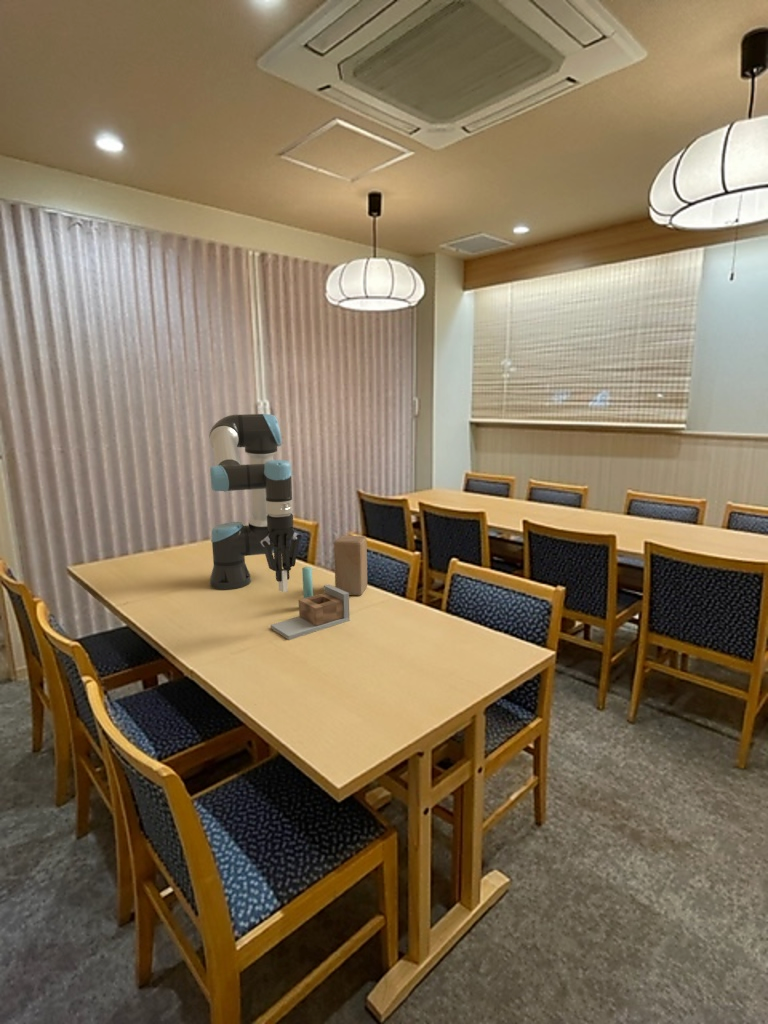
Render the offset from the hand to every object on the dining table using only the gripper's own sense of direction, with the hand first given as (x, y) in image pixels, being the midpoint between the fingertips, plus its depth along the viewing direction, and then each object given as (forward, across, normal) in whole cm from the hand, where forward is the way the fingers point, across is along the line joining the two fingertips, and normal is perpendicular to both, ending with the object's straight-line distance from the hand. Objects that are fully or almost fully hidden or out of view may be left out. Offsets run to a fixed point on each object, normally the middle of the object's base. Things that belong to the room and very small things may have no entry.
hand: (283, 590), depth 164 cm
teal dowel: (+14, +16, +12) cm, 24 cm away
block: (+14, +37, +16) cm, 42 cm away
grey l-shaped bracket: (+13, +9, -1) cm, 16 cm away
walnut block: (+12, +13, -1) cm, 17 cm away
